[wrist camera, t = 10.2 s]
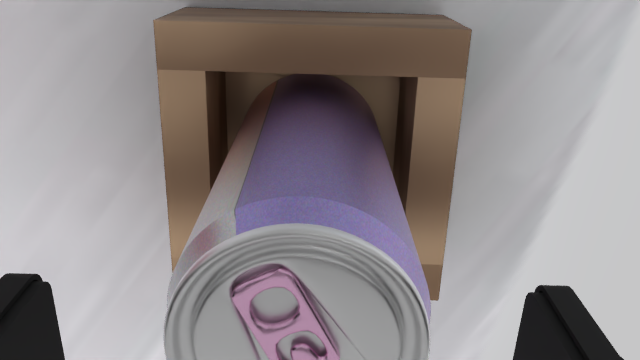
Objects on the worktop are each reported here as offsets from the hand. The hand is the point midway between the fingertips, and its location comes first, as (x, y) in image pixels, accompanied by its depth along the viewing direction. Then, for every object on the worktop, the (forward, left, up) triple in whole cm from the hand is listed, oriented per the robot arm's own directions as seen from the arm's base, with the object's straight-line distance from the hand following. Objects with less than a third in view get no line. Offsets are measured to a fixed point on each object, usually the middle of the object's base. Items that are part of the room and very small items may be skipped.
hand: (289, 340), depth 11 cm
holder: (+1, 0, -16) cm, 16 cm away
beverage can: (+1, 0, -16) cm, 16 cm away
